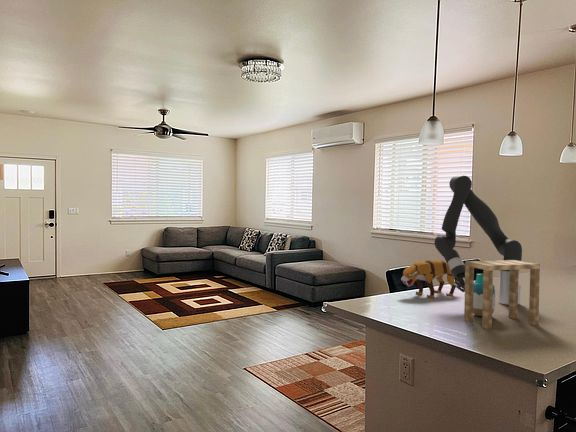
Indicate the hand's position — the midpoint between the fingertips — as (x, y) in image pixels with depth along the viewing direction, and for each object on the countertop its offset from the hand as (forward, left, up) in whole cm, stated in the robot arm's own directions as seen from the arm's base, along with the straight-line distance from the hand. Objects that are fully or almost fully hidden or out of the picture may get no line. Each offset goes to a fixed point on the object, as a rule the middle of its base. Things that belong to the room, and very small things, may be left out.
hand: (473, 298), depth 204 cm
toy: (-4, -41, -7) cm, 42 cm away
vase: (0, +6, -7) cm, 9 cm away
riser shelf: (0, +17, -7) cm, 18 cm away
